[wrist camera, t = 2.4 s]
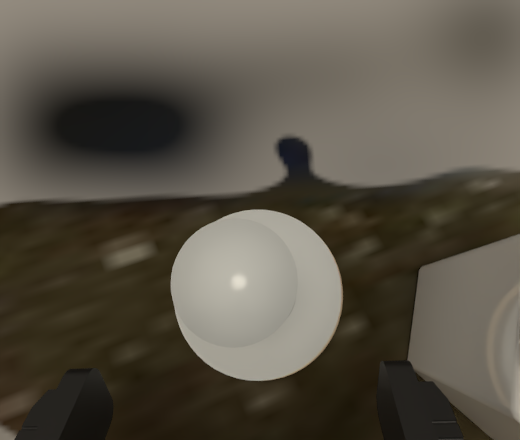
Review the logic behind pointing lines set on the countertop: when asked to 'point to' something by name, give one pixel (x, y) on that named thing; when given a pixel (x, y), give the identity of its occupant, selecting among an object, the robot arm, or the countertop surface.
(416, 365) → the jar
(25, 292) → the countertop surface
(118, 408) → the countertop surface
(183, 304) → the lid
